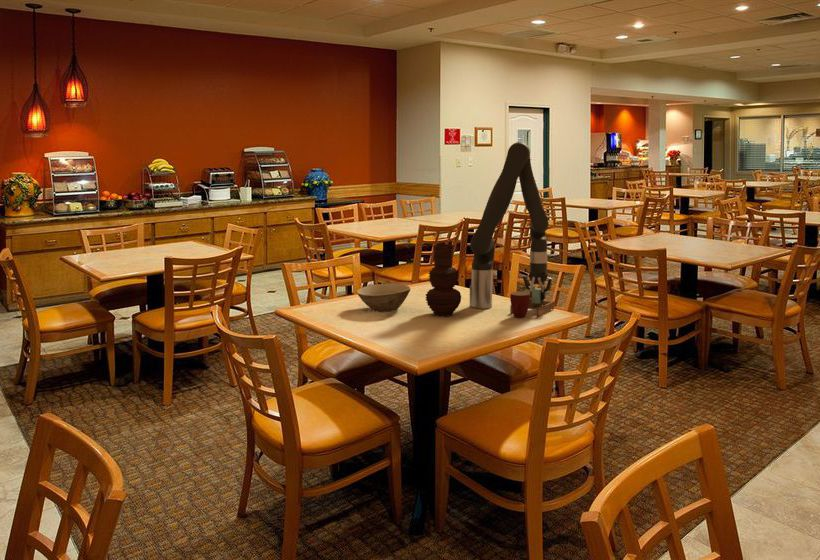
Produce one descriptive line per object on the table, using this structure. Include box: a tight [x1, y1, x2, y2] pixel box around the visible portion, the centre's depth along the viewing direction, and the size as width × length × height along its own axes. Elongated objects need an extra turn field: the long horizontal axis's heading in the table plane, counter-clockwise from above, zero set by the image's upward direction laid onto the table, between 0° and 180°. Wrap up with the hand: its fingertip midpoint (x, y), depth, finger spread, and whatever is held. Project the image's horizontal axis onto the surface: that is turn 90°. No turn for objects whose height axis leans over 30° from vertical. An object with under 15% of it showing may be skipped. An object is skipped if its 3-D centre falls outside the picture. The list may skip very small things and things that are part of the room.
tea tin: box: [532, 287, 545, 303], centre depth 302 cm, size 4×4×6 cm
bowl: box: [356, 283, 411, 313], centre depth 304 cm, size 24×24×10 cm
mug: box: [509, 291, 531, 319], centre depth 288 cm, size 11×8×10 cm
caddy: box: [509, 298, 555, 318], centre depth 299 cm, size 13×17×4 cm
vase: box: [424, 243, 462, 318], centre depth 292 cm, size 15×15×30 cm
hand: (537, 299), depth 303 cm, fingers closed on tea tin, 4 cm apart
